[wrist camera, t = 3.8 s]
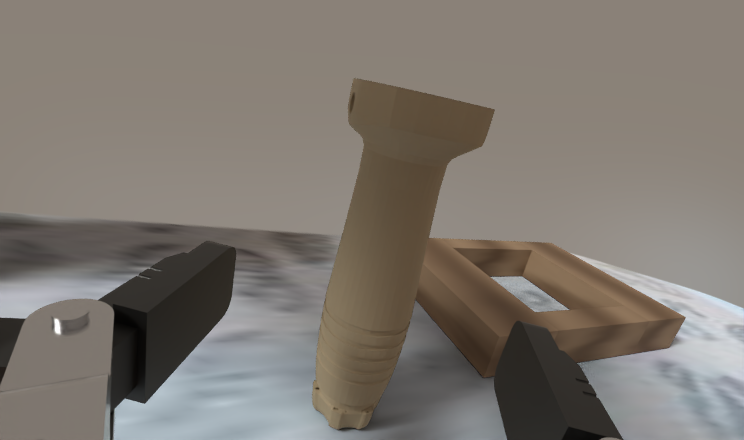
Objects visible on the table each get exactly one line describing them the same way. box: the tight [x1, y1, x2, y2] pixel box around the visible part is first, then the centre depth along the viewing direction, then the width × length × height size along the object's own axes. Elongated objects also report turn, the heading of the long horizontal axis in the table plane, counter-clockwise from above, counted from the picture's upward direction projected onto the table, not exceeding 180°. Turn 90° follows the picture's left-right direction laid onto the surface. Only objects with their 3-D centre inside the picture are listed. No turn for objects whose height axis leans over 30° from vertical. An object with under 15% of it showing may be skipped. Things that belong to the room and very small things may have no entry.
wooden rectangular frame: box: [415, 238, 686, 378], centre depth 33 cm, size 20×14×3 cm
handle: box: [312, 78, 495, 430], centre depth 16 cm, size 5×6×15 cm
